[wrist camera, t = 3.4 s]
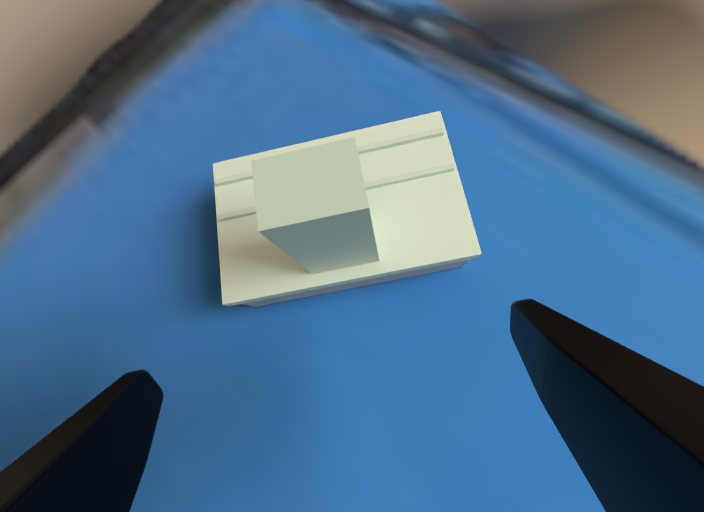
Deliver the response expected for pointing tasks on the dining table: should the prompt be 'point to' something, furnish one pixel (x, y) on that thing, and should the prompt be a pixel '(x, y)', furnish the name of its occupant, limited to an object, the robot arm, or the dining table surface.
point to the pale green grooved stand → (341, 211)
